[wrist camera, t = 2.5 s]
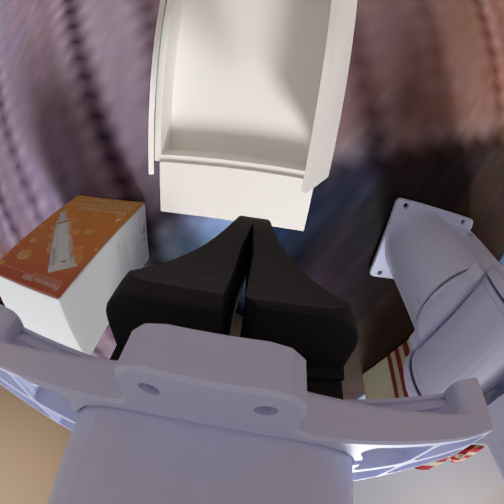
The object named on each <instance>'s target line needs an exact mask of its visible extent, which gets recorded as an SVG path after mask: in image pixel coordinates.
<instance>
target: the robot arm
mask: <svg viewBox="0 0 504 504" xmlns="http://www.w3.org/2000/svg"><path fill="white" fill-rule="evenodd" d="M405 203H407V205H406V206H405V207H403V206H404V204H405ZM462 220H463V221H462ZM461 221H462V222H461ZM472 225H473V221H472V219H471V218H468V217H465V216H462V215H459V214H456V213H453V212H450V211H447V210H443V209H440V208H437V207H433V206H430V205H426V204H423V203H419V202H416V201H412V200H408V199H405V198H397V199H396V201H395V203H394V206H393V209H392V212H391V215H390V218H389V221H388V223H387V226H386V229H385V232H384V234H383V237H382V240H381V242H380V245H379V247H378V250H377V253H376V255H375V258H374V260H373V263H372V265H371V267H370V270H369V271H370V274H371V275H372V276H376V277H383V278H391V279H394V281H395V283H396V285H397V287H398V290H399V292H400V294H401V297H402V299H403V301H404V304H405V306H406V308H407V311H408V313H409V316H410V318H411V321H412V323H413V326H414V329H415V330H414V332H413V333H412V335H411V336H410V337H409V340H410V343H411V346H412V349H413V351H412V352H410V353H409V354H408V356H407V357H406V359H405V362H404V367H403V373H404V381H405V386H406V390H407V393H408V395H409V397H402V398H388V399H362V400H343V393H342V383H341V381H343V380H344V368H343V367H344V365H345V364H346V362H347V361H348V359H349V358H350V356H351V354H352V353H353V351H354V350H355V348H356V345H357V343H358V330H357V326H356V322H355V319H354V315H353V313H352V311H351V308H350V305H349V303H347V302H345V301H343V300H342V299H340V298H338V297H336V296H335V295H333V294H331V293H330V292H328V291H327V290H325V289H324V288H322V287H321V286H320V285H318V284H317V283H316V282H314V281H313V280H312V279H311V278H310V277H308V276H307V275H306V274H305V273H304V272H303V271H302V270H301V269H300V268H299V267H298V266H297V265H296V264H295V263H294V262H293V261H292V259H291V258H290V257H289V255H288V254H287V253H286V251H285V250H284V248H283V247H282V245H281V243H280V241H279V240H278V238H277V236H276V234H275V232H274V230H273V227H272V225H271V222H270V221H269V220H268V219H261V218H254V217H247V216H239V217H238V218H237V219H236V220H235V221H234V222H233V223H232V224H230V225H229V226H228V227H227V228H226V229H225V230H224V231H223V232H221V233H220V234H219V235H218V236H216V237H215V238H214V239H212V240H211V241H209V242H208V243H207V244H205V245H203V246H202V247H200V248H198V249H196V250H194V251H192V252H190V253H188V254H186V255H183V256H181V257H179V258H176V259H174V260H171V261H168V262H165V263H161V264H158V265H154V266H150V267H145V268H140V269H136V270H130V271H129V272H128V273H127V274H126V276H125V277H124V278H123V279H122V281H121V282H120V284H119V285H118V287H117V288H116V290H115V291H114V293H113V294H112V296H111V298H110V299H109V301H108V302H107V306H106V315H107V319H108V322H109V325H110V327H111V330H112V333H113V336H114V338H115V341H116V343H117V346H116V348H115V350H114V352H113V354H112V356H111V358H110V360H107V359H100V358H97V357H94V356H91V355H89V354H86V353H83V352H81V351H78V350H75V349H73V348H70V347H68V346H65V345H63V344H60V343H58V342H56V341H53V340H51V339H49V338H46V337H44V336H42V335H40V334H37V333H35V332H33V331H31V330H29V329H27V328H25V327H24V326H23V323H22V321H21V319H20V318H19V316H18V315H17V314H16V313H15V312H14V311H12V310H11V309H9V308H7V307H5V306H3V305H1V304H0V384H1V385H2V386H4V387H5V388H6V389H7V390H9V391H10V392H12V393H13V394H15V395H16V396H17V397H19V398H20V399H22V400H23V401H25V402H26V403H27V404H29V405H30V406H32V407H33V408H35V409H36V410H38V411H39V412H41V413H42V414H44V415H46V416H47V417H49V418H50V419H52V420H54V421H55V422H57V423H59V424H60V425H62V426H64V427H65V428H67V429H69V430H71V431H72V433H71V436H70V438H69V441H68V444H67V446H66V449H65V452H64V455H63V457H62V460H61V463H60V466H59V469H58V472H57V475H56V478H55V481H54V484H53V487H52V490H51V494H50V497H49V501H48V504H353V481H356V480H362V479H367V478H373V477H378V476H383V475H387V474H391V473H395V472H399V471H404V470H407V469H411V468H415V467H418V466H422V465H425V464H428V463H432V462H435V461H438V460H441V459H444V458H447V457H451V456H453V455H455V454H456V453H458V452H460V451H462V450H463V449H465V448H467V447H468V446H470V445H471V444H476V445H484V446H487V447H488V449H489V451H490V453H491V455H492V457H493V459H494V461H495V463H496V465H497V468H498V470H499V472H500V474H501V476H502V478H503V481H504V265H503V264H499V262H498V261H497V260H496V258H495V257H494V256H493V255H492V254H491V253H490V251H489V250H488V249H487V248H486V247H485V246H484V245H483V244H482V242H481V241H480V240H479V239H478V238H477V237H476V236H475V235H474V234H473V233H472V232H471V231H470V230H471V227H472ZM378 271H380V272H379V273H377V272H378ZM245 278H246V289H245V305H244V312H243V319H242V327H241V334H240V337H235V336H230V335H231V330H232V324H233V320H234V316H235V312H236V309H237V305H238V302H239V298H240V295H241V292H242V288H243V285H244V281H245ZM501 378H502V379H501ZM500 379H501V380H500ZM499 380H500V381H499ZM494 384H495V385H494ZM493 385H494V386H493ZM489 388H490V389H489ZM488 389H489V390H488ZM484 392H485V393H484Z"/></svg>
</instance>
